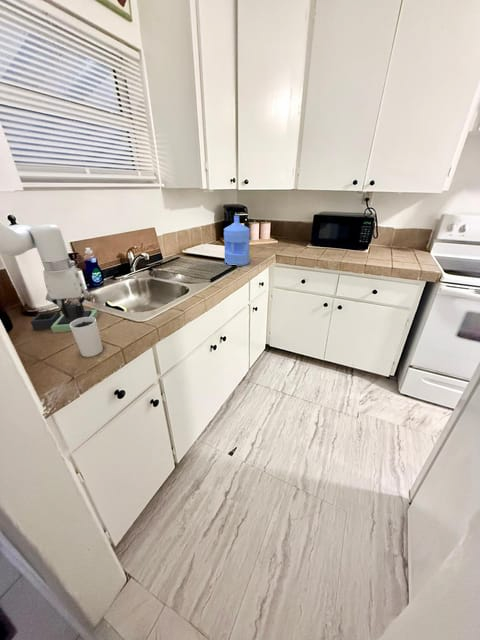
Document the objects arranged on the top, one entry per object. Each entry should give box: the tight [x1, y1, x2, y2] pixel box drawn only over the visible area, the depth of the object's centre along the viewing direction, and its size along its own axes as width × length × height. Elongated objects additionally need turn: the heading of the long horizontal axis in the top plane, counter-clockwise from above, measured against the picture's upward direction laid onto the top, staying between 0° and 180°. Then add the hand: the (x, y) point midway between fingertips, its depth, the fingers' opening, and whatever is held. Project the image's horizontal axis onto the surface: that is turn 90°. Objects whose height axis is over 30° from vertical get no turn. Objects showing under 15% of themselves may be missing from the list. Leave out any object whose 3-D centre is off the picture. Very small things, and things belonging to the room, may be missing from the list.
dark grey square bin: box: [29, 311, 62, 331], centre depth 92 cm, size 7×7×4 cm
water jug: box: [223, 215, 251, 267], centre depth 158 cm, size 16×16×28 cm
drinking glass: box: [70, 317, 104, 358], centre depth 76 cm, size 7×7×10 cm
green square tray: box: [50, 309, 99, 333], centre depth 94 cm, size 12×12×2 cm
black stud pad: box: [58, 303, 92, 325], centre depth 92 cm, size 8×8×5 cm
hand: (74, 314), depth 93 cm, fingers closed on black stud pad, 3 cm apart
